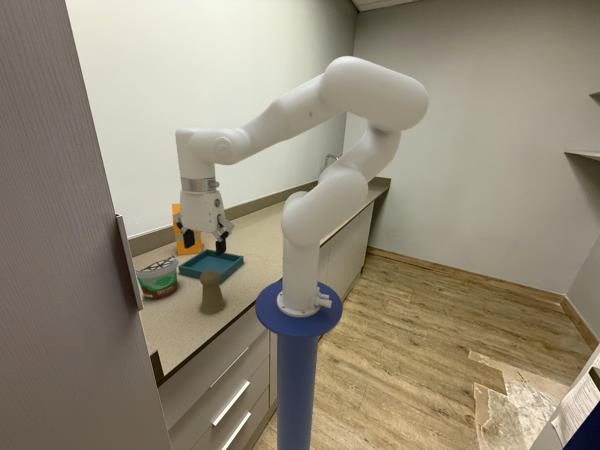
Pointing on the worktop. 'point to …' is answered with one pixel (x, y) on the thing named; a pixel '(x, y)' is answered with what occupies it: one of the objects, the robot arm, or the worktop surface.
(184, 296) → the worktop surface
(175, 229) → the orange juice
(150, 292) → the food container
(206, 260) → the tray
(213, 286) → the olive tapered rounded piece
